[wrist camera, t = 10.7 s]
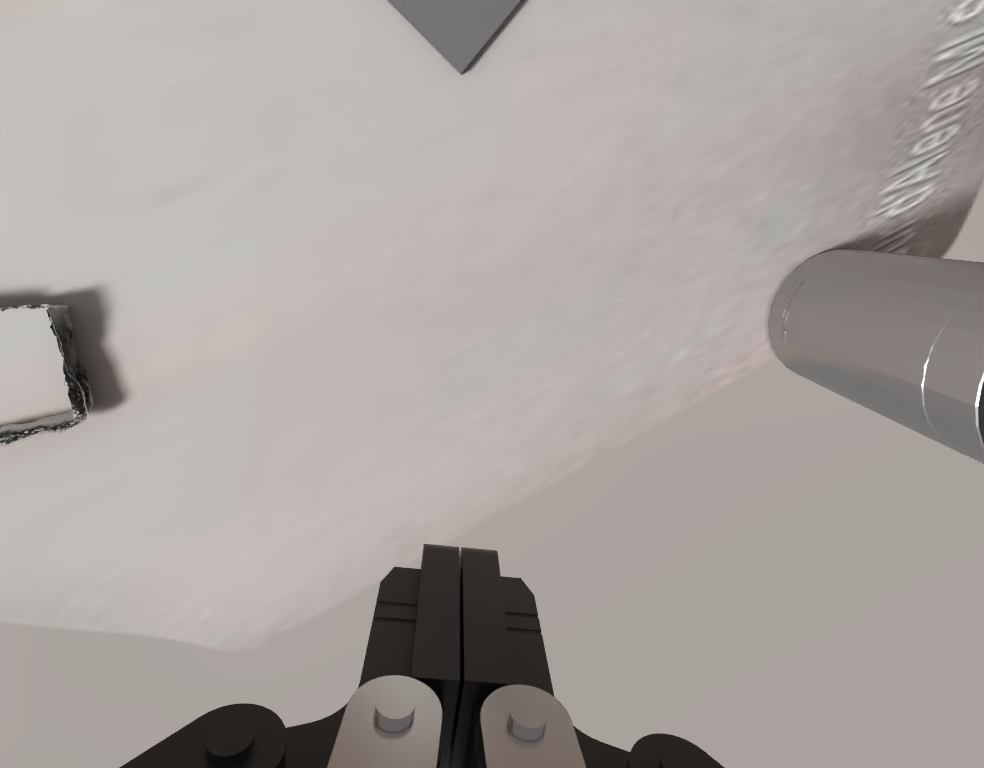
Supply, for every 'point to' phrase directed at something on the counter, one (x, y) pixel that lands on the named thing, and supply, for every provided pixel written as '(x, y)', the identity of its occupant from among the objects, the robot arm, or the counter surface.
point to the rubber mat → (456, 24)
